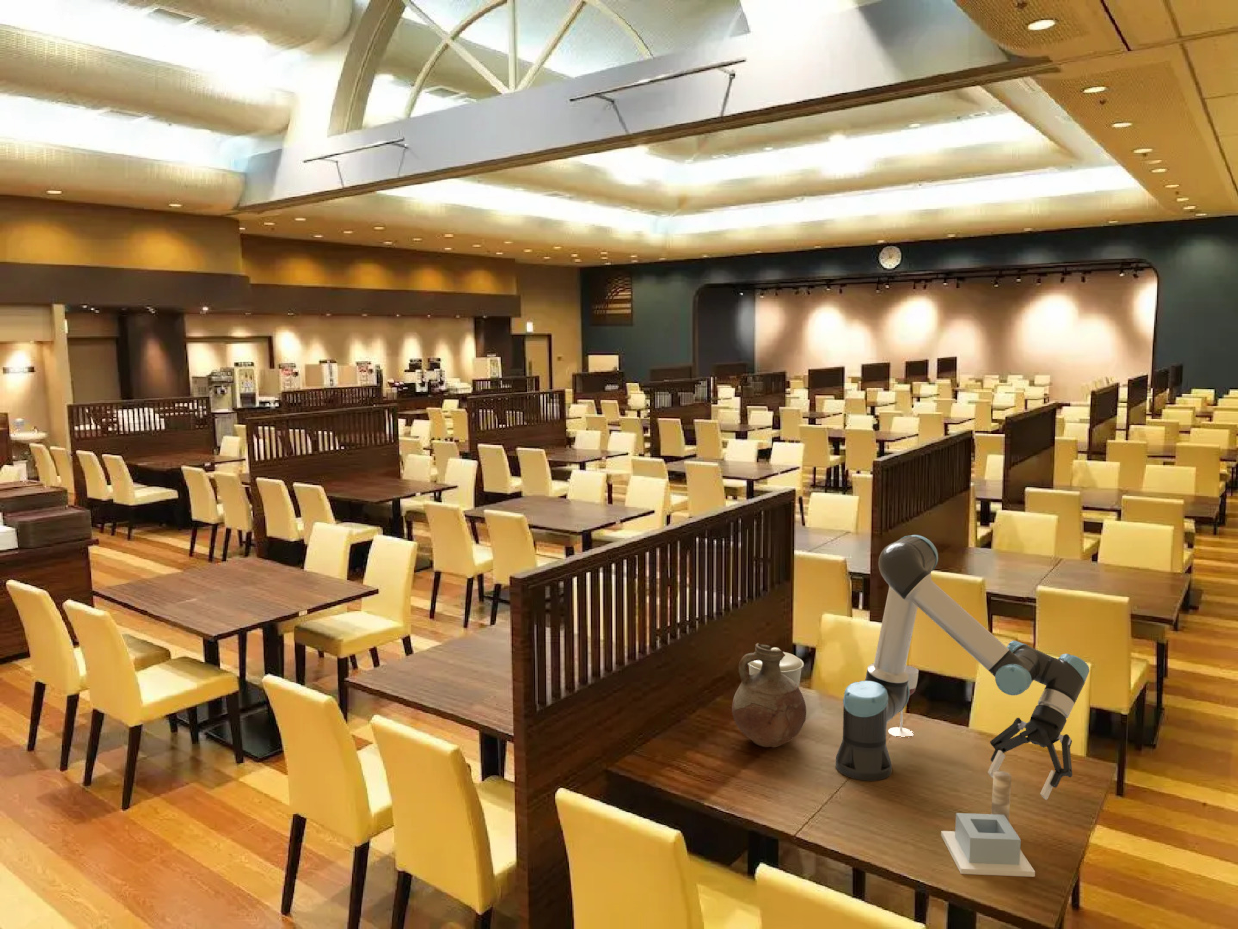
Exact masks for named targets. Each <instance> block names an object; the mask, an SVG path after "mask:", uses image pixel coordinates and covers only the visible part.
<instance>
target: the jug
mask: <svg viewBox="0 0 1238 929" xmlns="http://www.w3.org/2000/svg"><path fill="white" fill-rule="evenodd" d="M754 646H755V648H754V649H755V650H754V652H750V653H745V654H744V655H743V656H742V657H741V659H740V660H739V663H738V673H739V677H740V681H741V683H740V684H739V686H738V688H737V689H736V691H735V694H734V696H733V700H732V704H731V714H732V716H733V720H734V722H735V725H736V726H737V729H739V731H740V732H741V733H742V734H743V735H744V736H746V737H747V738H748V739H750V740H751V741H752V743H754V744H755V745H757V746H760V747H762V748H769V747H771V748H778V747H780V746H784V744H786V743H788V742H790V741H791V740H793V739H794V738H796V736H798V734H799V733H800V732H801V730H802V728H803V727H804V724H805V722H806V718H807V706H806V701H805V698H804V695H803V693H802V691H801V690H800V688H799V687H800V686H799V687H798V685H797V683H795V682H794V681H793V680H792V679H790V678H789V677H787V676H786V675H784V674H782V673H781V670H780V661H781V660H782V659H783V657H784V656H785V654H784V653H783V652H784V651H783V650H781V649H780V651H774V650H771V648H772V647H771V646H770V645H767V644H760V642H757V643H755V645H754ZM755 660H760V661H762V667H761V670H760V671H759V672H756V673H753V674H751V675H750V674H749V672H748V669H747V666H748V663H749V662H751V661H755Z"/></svg>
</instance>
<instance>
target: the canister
mask: <svg viewBox="0 0 1238 929" xmlns="http://www.w3.org/2000/svg"><path fill="white" fill-rule="evenodd" d="M770 648H771V650H774V651H780V650H781V649H780V648H779V647H775V646H774V647H770ZM783 653H784V654H785V656H784V657H783V659H782V660H781V661H780V670H781V673H782V674H784V675H786V676H787V677H789V678H790V679H792V680H793V681H794V682H795V683H797V685H798V687H800V682H801V675H802V674H801V673H802V669H803V668H804V665H805V663H804V661H803V660H802V659H801V658H800V657H798V656H796V655H794V654H792V653H789V652H785V651H783ZM747 666H748V673H749V674H750V675H751V674H753V673H756V672H759V671H760V670H761V667H762V661H760V660H755V661H751V662H749V663H748V664H747Z"/></svg>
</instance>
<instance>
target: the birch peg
mask: <svg viewBox="0 0 1238 929" xmlns="http://www.w3.org/2000/svg"><path fill="white" fill-rule="evenodd" d="M1011 787H1012V775H1011V774H1010V772H1007V771H1004V770H998V771H995V772H994V773H993V778H992V795H991V813H990V814H1000V815H1004V816H1005V817H1006V819H1007V820H1008V822H1009V823H1010V810H1011V809H1010V807H1011V806H1010V805H1011V792H1012V790H1011Z"/></svg>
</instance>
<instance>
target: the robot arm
mask: <svg viewBox="0 0 1238 929" xmlns="http://www.w3.org/2000/svg"><path fill="white" fill-rule="evenodd" d="M938 562H939V552H938V549H937V548H936V546H935V545H934V543H933V542H932V541H931V540H930V539H928V538H926V537H925V536H922V535H920V534H912V535H905V536H903V537H901V538H900V539H898V540H896V541H894V542H891V543H890V544H888V545H886V546H885V547H884V548H883V549H882V550H881V552H880V555H879V557H878V569H879V573H880V575H881V577H882V578H883V580H884V581H885V582H886V584H888V592H887V596H886V601H885V607H884V610H883V616H882V621H881V625H880V626H881V627H880V630H879V631H880V632H879V636H878V640H877V647H876V652H875V655H874V662H873V663H871V664H869V665H868V666H867V670H866V674H865V678H864V680H859V682H858V681H854V682H852V683H850V684H849V685H847V687H845V690H844V693H843V694H844V695H843V700H842V701H843V702H842V703H843V712H842V713H843V714H842V716H843V717H842V720H843V721H842V740H841V742H840V745H839V748H838V751H837V753H836V756H835V768H836V770H837V771H838V772H839V773H840V774H842V775H844V776H846V777H848V778H851V779H853V780H854V779H855V780H859V781H864V782H865V781H868V782H869V781H871V782H873V781H881V780H884V779H886V778H889V777H890V776H891V774H892V770H893V769H892V768H893V765H892V760H891V756H890V754H889V751H888V750H889V749H888V747H887V730H888V729H887V728H888V726H887V725H888V723H889V722H890V721H891V720H892V719H893V718H894V717H895V716H897V714H899V713H900V711H901V710H903V711H904V709H905V707H906V706H907V704H908V702H909V698H910V696H911V695H910V690H909V686H908V680H909V676H908V674H907V673H906V671H905V667H906V665H907V661H908V657H909V651H910V646H911V643H912V642H911V641H912V636H913V632H914V627H915V623H916V619H917V618H916V617H917V614H918V613H917V612H918V609H920V611H922V612H923V613H924V614H925V615H927V617H928V618H930V620H932V622H934V623H935V624H936V625H938V627H939V628H941V629H942V630H943V631H944V632H945V633H946V634H947V635H948V636H949V637H950V638H952V639H953V640H954V641H955V642H956V643H957V644H958V645H959V646H960V647H961V648H963V649H964V650H965V651H966V652H967V653H968V654H969V655H970V656H972V657H973V659H975V661H977V662H978V663H979V664H980V665H982V667H984V668H985V669H986V670H987V671H988V672H989V673H990V674H991V675H992V676H993V677H994V681H995V683H996V684H995V685H996V686H997V688H998V689H999V690H1000V691H1001V692H1002V693H1004V694H1006V695H1009V696H1018V695H1019V696H1020V695H1021V694H1022V693H1024V692H1025V691H1027V690H1028V689H1029V688H1030V686H1031V685H1032V683H1033V681H1035V682H1036V683H1039V684H1042V685H1043V686H1045V687H1044V690H1043V691H1042V693H1041V695H1040V697H1039V699H1038V702H1037V705H1036V706H1035V707H1034V709H1033V711H1032V714H1031V716H1030V719H1029V721H1027V722H1026V721H1023V720H1022V719H1021V718H1020V717H1016V718H1015V719H1014V721H1013V722H1012V724H1010V725H1009V726H1008V727H1007V728H1005V729H1004V730H1003V731H1002V732H1001V733H999V734H998V735H996V736H995V737H994V738H993V739H992V740H990V742H989V744H990V745H991V746H992V748H993V749H994V751H993V753H992V756H991V758H990V762H991V764H990V766H989V769H988V770H987V774H988V775H989V776H990V777H991V778H992V779H993V773H994V772H995V771H1000V768H1001V766H1002V764H1003V761H1004V760H1005V758H1006V755H1005V754H1004V753H1007V752H1009V751H1011V750H1013V749H1015V748H1017V747H1019V746H1022V745H1023V744H1029V743H1031V744H1033V745H1036V746H1037V745H1038V746H1040V747H1041V748H1047V751H1048V754H1049V757H1050V759H1051V762H1052V765H1053V767H1054V770H1052V769H1051V770H1050V772H1049V774H1048V776H1047V778H1046V780H1045V782H1044V785H1043V786H1042V789H1041V791H1040V796H1041V797H1042V799H1044V800H1046V801H1047V800H1048V799H1049V797H1050V794H1051V793H1052V790H1053V788H1055V789H1056V788H1057V787H1058V786H1059V784H1060V782H1061V780H1062V778H1063V777H1068V778H1072V777H1073V768H1072V767H1073V766H1072V754H1071V746H1072V743H1073V740H1072V738H1071V737H1070V735H1069V734H1064V735H1063V734H1061V733H1062V732H1063V731H1064V728H1065V725H1066V723H1067V720H1068V718H1069V717H1070V715H1071V712H1072V711H1073V708H1074V706H1075V705H1076V702H1077V699H1078V698H1079V696H1080V694H1081V692H1082V690H1083V687H1084V685H1085V683H1086V681H1087V678H1088V676H1089V674H1090V666H1089V664H1088V663H1087V662H1086V661H1085V660H1083V659H1082V658H1081V657H1079V656H1076V655H1074V654H1069V653H1063V654H1060V656H1059V657H1058V658H1057V657H1054V656H1051V655H1049V654H1047V653H1045V652H1042V651H1041V650H1038V649H1037V648H1034V647H1031V646H1030V645H1028V644H1026V643H1023V642H1020V641H1018V640H1011V641H1010V642H1009V643H1008V645H1007V646H1006V645H1005V644H1004V643H1003V642H1001V640H1000V639H998V638H997V636H995V635H993V633H991V632H990V631H989V630H988V629H987V628H986V627H984V625H983V624H981V623H980V622H979V621H978V620H977V619H976V618H974V616H972V614H971V613H969V612H968V611H966V610H965V608H963V607H962V606H961V605H960V604H959V603H958V602H957V601H955V600H954V599H953V597H951V596H950V595H949V594H948V593H946V592H945V591H944V590H943V589H942V588H941V587H940V586H939V585H937V584H936V583H935V581H933V580H932V572H933V571H934V570H935V568H936V566H937V565H938ZM909 695H910V696H909ZM1024 729H1025V730H1024ZM1020 731H1021V732H1020ZM1019 732H1020V733H1019ZM1018 733H1019V734H1018ZM1017 734H1018V735H1017ZM1057 742H1060V744H1061V754H1062V765H1063V768H1062V765H1061V763H1060V760H1059V757H1058V755H1057V752H1056V748H1055V745H1054V744H1055V743H1057Z"/></svg>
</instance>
